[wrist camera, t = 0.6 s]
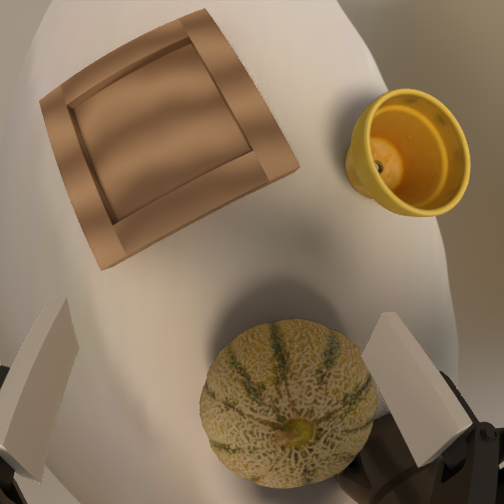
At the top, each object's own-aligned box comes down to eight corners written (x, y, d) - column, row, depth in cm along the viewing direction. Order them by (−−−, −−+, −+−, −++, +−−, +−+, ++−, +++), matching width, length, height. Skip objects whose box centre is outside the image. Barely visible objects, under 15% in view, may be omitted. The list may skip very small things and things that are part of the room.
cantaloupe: (281, 441, 31) (303, 538, 16) (178, 375, 30) (144, 472, 15) (371, 353, 31) (446, 425, 16) (272, 269, 30) (306, 312, 15)
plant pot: (380, 239, 30) (434, 245, 20) (306, 169, 29) (337, 144, 19) (429, 169, 30) (486, 155, 20) (363, 103, 29) (407, 64, 19)
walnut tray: (294, 172, 29) (300, 166, 26) (113, 266, 29) (101, 270, 26) (207, 23, 27) (205, 8, 24) (52, 109, 27) (39, 101, 24)
